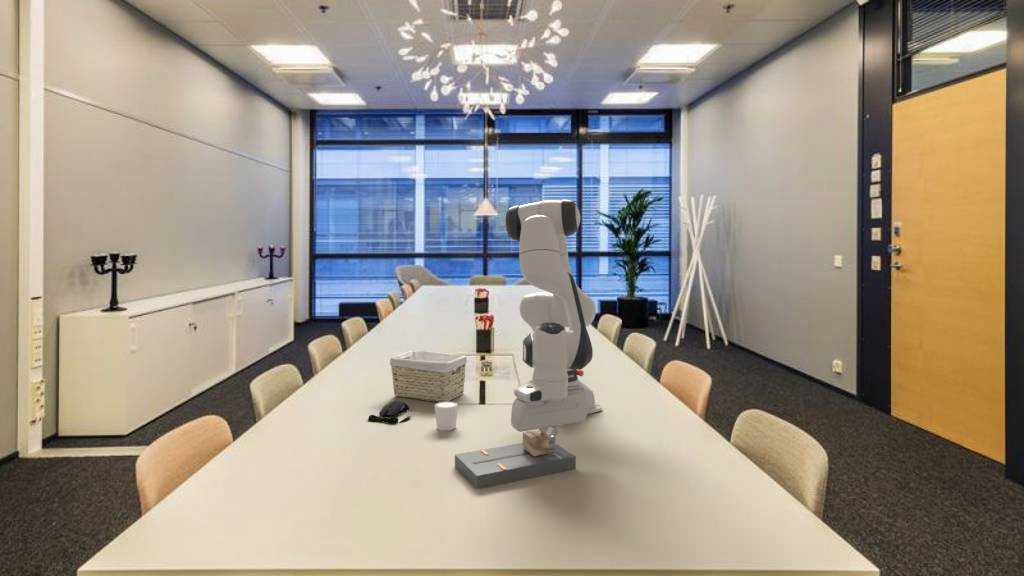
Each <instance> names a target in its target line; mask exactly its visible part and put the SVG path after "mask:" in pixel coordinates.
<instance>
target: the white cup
mask: <svg viewBox="0 0 1024 576" xmlns="http://www.w3.org/2000/svg"><path fill="white" fill-rule="evenodd" d="M458 406H459V405H458V403H457V402H454V401H448V402H437V403H435V404H434V413H435V422H436V429H437V430H439V431H452V430H455V429H456V428H457V417H458ZM454 428H455V429H454Z"/></svg>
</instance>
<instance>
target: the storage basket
mask: <svg viewBox="0 0 1024 576" xmlns="http://www.w3.org/2000/svg"><path fill="white" fill-rule="evenodd" d="M467 363H468V360H467V355H463V354H458V353H457V354H456V353H450V352H449V353H446V352H438V351H437V352H436V351H427V350H415V349H414V350H410V351H406V352H402V353H400V354H397V355H395V356H394V355H393V356H391V357H390V361H389V365H390V367H391V373H392V386H393V392H394V396H395V397H401V398H409V399H417V400H421V401H426V402H429V401H430V402H437V403H440V402H451V401H452V400H454V399H456V398H458V397H460V396H462V395H463V394H464V391H465V381H466V380H465V378H466V365H467Z"/></svg>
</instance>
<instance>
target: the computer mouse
mask: <svg viewBox="0 0 1024 576" xmlns="http://www.w3.org/2000/svg"><path fill="white" fill-rule="evenodd" d="M407 410H408V411H409V410H410V407H409V405H408V404H407V403H406V402H405V401H402V400H398V399H397V400H392V401H389V402H388V403H387V404H386V405H384V406H383V407H382V408H381V409H380V411H379V413H378V415H375V414H370V415H369V416H368V418H367V420H368V422H370V423H373V422H374V423H375V421H376V423H379V422H380V423H385V424H390V425H391V424H392V425H397V424H398V423H399V424H402V423H405V422H407V421H408V420H410V419H411V417H413V416H412V415H408V416H406V417H405V418H403V419H402V420H400V421H399V416H400V415H401V413H402V414H404V413H407V412H408V411H407ZM406 411H407V412H406ZM403 412H404V413H403ZM399 414H400V415H399ZM382 415H383V417H380V416H382ZM386 417H387V418H386ZM396 423H397V424H396Z"/></svg>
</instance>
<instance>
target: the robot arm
mask: <svg viewBox="0 0 1024 576" xmlns="http://www.w3.org/2000/svg"><path fill="white" fill-rule="evenodd" d="M580 223H581V213H580V210H579V208H578V206H577V203H576V202H575V201H574V200H570V199H562V200H541V201H538V202H530V203H527V204H523V205H520V204H517V205H514V206H511V207H509V208H508V210H507V211H506V213H505V218H504V227H505V231H506V232H507V235H508V237H509V238H510V239H512V240H514V241H517V242H519V248H518V250H519V251H518V253H519V254H518V255H519V257H518V259H519V269H520V272H521V275H522V277H523V278H524V280H526V281H527V283H528V284H530V285H532V286H533V287H535V288H537V289H539V290H541V291H538V292H533V293H532V292H531V293H527V294H525V295H524V296H523V297H522V299H521V300H520V304H519V314H520V317H521V318H522V320H523V321H524V322H525V323H526V324H527V325H528V326H529V328H531V330H532V331H533V332H532V333H531V332H530V333H529V334H527V336H526V337H525V338H524V339H523V340H522V361H523V362H524V363H525V364H526V365H527V366H528V367H530V368H531V369H532V368H533V373H532V380H530V381H528V382H526V383H524V384H523V385H520V386H517V387H516V388H515V389H514V392H513V393H514V397H515V399H514V400H513V403H512V406H511V407H512V408H511V413H510V414H511V415H510V416H511V417H510V418H511V419H510V420H511V421H510V424H511V426H512V428H513V429H514V430H515V431H518V432H521V433H523V432H529V431H535V430H538V431H539V432H541V433H542V434H544V435H545V436H547V437H549V444H550V443H555V444H556V443H557V436H558V435H559V433H560V431H561V426H562V425H563V426H564V425H569V424H575V423H577V424H578V423H583V422H585V420H586V419H587V415H590V414H594V413H598V412H601V411H602V410H603V407H602V406H601V404H599V403H597V402H596V399H595V394H594V391H593V390H592V389H591V388H590V387H588V385H586V384H585V383H583V382H582V381H581V380H580V379H579V378H578V376H579V377H583V376H584V375H585V372H584V370H583V369H584V368H585V367H586V366H588V365H589V364H590V362H592V359H593V354H594V353H593V352H594V351H593V345H592V344H593V343H592V341H591V338H590V335H589V332H588V329H587V327H589V326H590V325H591V324H592V323H593V322H594V320H595V317H596V314H597V310H596V305H595V304H596V303H595V302H594V301H593V299H592V298H591V297H590V296H589V295H588V294H586V293H584V291H582V289H581V288H580V287H579V286H578V284H577V283H576V281H575V279H574V277H573V275H572V271H571V265H570V262H569V261H570V260H569V259H570V258H569V253H568V251H569V250H568V243H567V238H568V237H570V236H572V235H574V234H575V233H576V232H578V230H579V227H580ZM566 237H567V238H566ZM543 291H544V292H543ZM566 328H569V330H568V331H567V330H566ZM550 427H551V428H552V430H551V433H550V434H548V433H547V432H548V431H549V428H550Z"/></svg>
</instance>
